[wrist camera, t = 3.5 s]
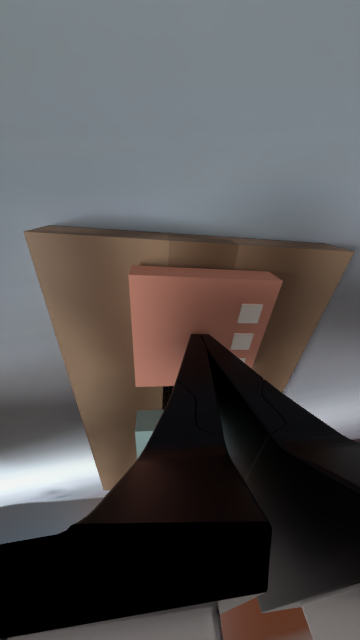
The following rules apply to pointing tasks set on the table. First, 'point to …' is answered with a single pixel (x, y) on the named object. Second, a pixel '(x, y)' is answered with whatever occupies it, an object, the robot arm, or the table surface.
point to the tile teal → (145, 427)
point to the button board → (116, 327)
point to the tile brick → (195, 315)
